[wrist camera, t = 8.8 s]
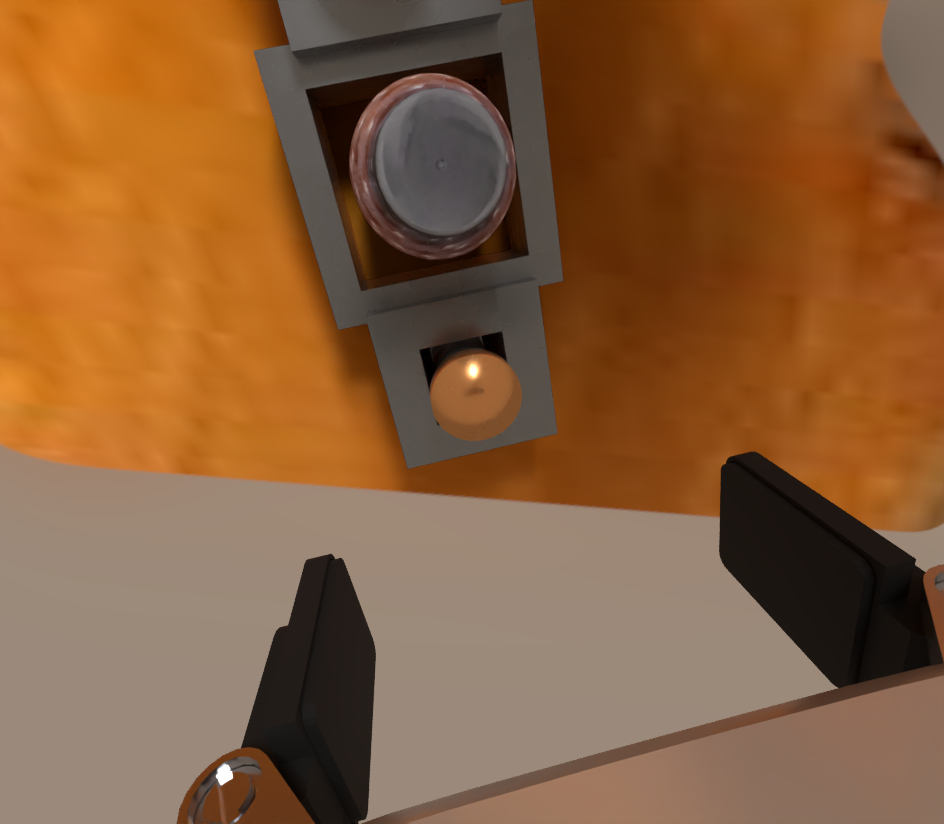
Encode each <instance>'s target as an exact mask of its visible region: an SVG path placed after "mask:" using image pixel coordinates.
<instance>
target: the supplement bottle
mask: <svg viewBox="0 0 944 824" xmlns="http://www.w3.org/2000/svg"><path fill="white" fill-rule="evenodd" d="M349 172H350V179H351V184H352V188H353V192H354V195H355V198H356V201H357V203H358V206H359V208H360V210H361V212H362V213H363V215H364V217H365V219H366V220H367V222H368V223H369V225H370V226H371V227H372V228H373V230H374V231H375V232H376V233H377V234H378V235H379V236H380V237H381V238H382V239H384V240H385V241H386V242H387V243H389V244H390V245H391V246H393V247H394V248H396V249H398V250H400V251H402V252H404V253H406V254H408V255H412V256H415V257H418V258H423V259H427V260H444V259H449V258H454V257H457V256H461V255H464V254H466V253H468V252H470V251H472V250H474V249H475V248H477V247H479V246H480V245H481V244H483V243H484V242H485V241H486V240H487V239H488V238H489V237H490V236H491V235H492V234H493V233H494V232H495V230H496V229H497V228H498V227H499V225H500V224H501V222H502V220H503V218H504V217H505V215H506V213H507V210H508V208H509V206H510V203H511V200H512V197H513V193H514V189H515V181H516V156H515V152H514V146H513V142H512V139H511V136H510V133H509V131H508V128H507V126H506V124H505V122H504V120H503V118H502V116H501V114H500V113H499V111H498V110H497V109H496V107H495V106H494V105H493V104H492V103H491V101H490V100H489V99H488V98H487V97H486V96H485V95H484V94H483V93H482V92H480V91H479V90H477V89H476V88H475V87H473V86H472V85H470V84H468V83H466V82H465V81H462V80H460V79H458V78H456V77H452V76H450V75H444V74H437V73H421V74H416V75H412V76H408V77H404V78H402V79H400V80H398V81H396V82H394V83H392V84H391V85H389V86H388V87H386V88H385V89H383V90H382V91H381V92H380V93H379V94H377V95H376V96H375V98H374V99H373V100H372V101H371V102H370V103H369V105H368V106H367V107H366V109H365V110H364V112H363V113H362V115H361V117H360V119H359V121H358V123H357V126H356V128H355V131H354V134H353V138H352V142H351V147H350V155H349Z"/></svg>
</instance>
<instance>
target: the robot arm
mask: <svg viewBox="0 0 944 824" xmlns="http://www.w3.org/2000/svg"><path fill="white" fill-rule="evenodd" d="M719 543H720V544H719V552H720V558H721V560H722V563H723V564H724V566H725V567H726V568H727V569H728V571H729V572H730V573H731V574H732V575H733V576H734V577H735V578H736V579H737V581H739V583H740V584H741V585H742V586H743V587H744V588H745V589H746V590H747V591H748V592H749V593H750V595H751V596H752V597H753V598H754V599H755V600H756V601H757V602H758V603H759V604H760V606H761V607H762V608H763V609H764V610H765V611H766V612H767V613H768V614H769V615H770V616H771V617H772V618H773V620H774V621H775V622H776V623H777V624H778V625H779V626H780V627H781V628H782V629H783V631H784V632H785V633H786V634H787V635H788V636H789V637H790V638H791V639H792V640H793V641H794V643H795V644H796V645H797V646H798V647H799V648H800V649H801V650H802V651H803V652H804V653H805V655H806V656H807V657H808V658H809V659H810V660H811V661H812V662H813V663H814V664H815V665H816V666H817V668H818V669H819V670H820V671H821V672H822V673H823V674H824V675H825V676H826V677H827V678H828V679H829V680H830V682H831V683H832V684H834V685H835V686H836V687H838V689H834V690H831V691H827V692H823V693H819V694H816V695H812V696H808V697H805V698H801V699H797V700H793V701H789V702H786V703H782V704H779V705H774V706H771V707H767V708H763V709H759V710H756V711H752V712H748V713H745V714H741V715H737V716H734V717H730V718H726V719H723V720H719V721H715V722H712V723H708V724H704V725H701V726H697V727H693V728H689V729H686V730H682V731H678V732H675V733H671V734H667V735H664V736H660V737H657V738H653V739H649V740H646V741H642V742H638V743H635V744H631V745H627V746H624V747H620V748H616V749H613V750H609V751H605V752H602V753H598V754H595V755H591V756H587V757H584V758H580V759H577V760H573V761H569V762H566V763H563V764H559V765H556V766H552V767H548V768H545V769H541V770H538V771H534V772H530V773H527V774H523V775H520V776H516V777H512V778H509V779H505V780H502V781H498V782H495V783H491V784H488V785H484V786H480V787H477V788H473V789H470V790H467V791H463V792H460V793H456V794H453V795H450V796H446V797H443V798H440V799H437V800H433V801H430V802H426V803H423V804H420V805H417V806H413V807H410V808H406V809H403V810H400V811H396V812H393V813H390V814H387V815H384V816H382V817H379V818H376V819H373V820H370V821H368V822H365V823H362V824H944V565H938V566H935V567H932V568H930V569H928V570H927V571H926V572H924V571H923V570H921V569H920V568H918V567H917V566H915V562H916V559H915V558H914V557H912V556H910V555H909V554H908V553H906V552H905V551H903V550H902V549H900V548H899V547H897V546H896V545H894V544H893V543H891V542H890V541H888V540H887V539H885V538H884V537H882V536H881V535H879V534H878V533H876V532H875V531H873V530H872V529H870V528H869V527H867V526H866V525H864V524H863V523H861V522H860V521H858V520H857V519H856V518H854V517H853V516H851V515H850V514H848V513H847V512H845V511H844V510H842V509H841V508H839V507H838V506H836V505H835V504H833V503H832V502H830V501H829V500H827V499H826V498H824V497H823V496H821V495H820V494H818V493H817V492H815V491H814V490H812V489H811V488H809V487H808V486H806V485H805V484H803V483H802V482H800V481H799V480H797V479H796V478H794V477H793V476H791V475H790V474H788V473H787V472H786V471H784V470H783V469H781V468H780V467H778V466H777V465H775V464H774V463H772V462H771V461H769V460H768V459H766V458H765V457H763V456H762V455H760V454H759V453H757V452H748V453H744V454H739V455H735V456H731V457H729V458H728V459H727V461H726V464H724V465H723V466H722V468H721V493H720V542H719ZM375 661H376V652H375V646H374V641H373V638H372V636H371V633H370V630H369V627H368V625H367V622H366V619H365V617H364V614H363V611H362V608H361V606H360V603H359V600H358V598H357V595H356V592H355V590H354V587H353V584H352V582H351V579H350V576H349V574H348V571H347V568H346V566H345V563H344V561H343V559H342V558H339V559H335V558H334V556H333V555H332V554H328V555H324V556H320V557H316V558H312V559H308V560H306V562H305V565H304V569H303V572H302V576H301V580H300V583H299V587H298V591H297V594H296V598H295V602H294V606H293V610H292V613H291V617H290V621H289V624H288V626H284V627H280V628H279V629H278V630H277V631H276V633H275V635H274V638H273V641H272V645H271V648H270V651H269V655H268V658H267V662H266V665H265V668H264V672H263V675H262V679H261V682H260V685H259V689H258V692H257V696H256V699H255V702H254V706H253V710H252V713H251V716H250V719H249V723H248V726H247V730H246V733H245V736H244V740H243V743H242V747H241V749H236V750H234V751H231V752H229V753H227V754H225V755H223V756H221V757H220V758H218V759H217V760H216V761H214V762H213V763H212V764H210V765H209V766H208V767H207V768H206V769H205V770H204V771H203V772H202V773H201V774H200V775H199V776H198V777H197V778H196V780H195V781H194V783H193V784H192V785H191V787H190V788H189V790H188V791H187V793H186V795H185V797H184V799H183V802H182V804H181V806H180V808H179V813H178V818H177V824H358V821H361V820H365V819H366V817H367V813H368V798H369V777H370V758H371V740H372V720H373V701H374V680H375Z"/></svg>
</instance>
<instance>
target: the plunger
mask: <svg viewBox="0 0 944 824" xmlns="http://www.w3.org/2000/svg"><path fill="white" fill-rule="evenodd" d="M433 364H434V368H435V373H434V375H433V378H432V381H431V385H430V400H431V406H432V411H433V414H434V416H435V418H436V420H437V422H438V423H439V425H440V426H441V427H442V428H443V429H444V430H445V431H446V432H447V433H449V434H451V435H452V436H454V437H456V438H459V439H462V440H467V441H481V440H486V439H489V438H492V437H494V436H496V435H498V434H500V433H502V432H503V431H504V430H506V429H507V428H508V427H509V426H510V425H511V423H512V422H513V421H514V419H515V418H516V416H517V414H518V412H519V410H520V407H521V402H522V389H521V385H520V382H519V379H518V377H517V375H516V374H515V372H514V371H513V369H512V368H511V367H510V365H509V364H508V363H507V362H506V361H505V360H504V359H503V358H502V357H500V356H499V355H497V354H495V353H493V352H491V351H488V350H486V348H485V347H484V345H483V344H482V342H481V341H480V340H479V339H478V338H477V337H474V338H469V339H465V340H460V341H456V342H451V343H446V344H442V345H437V346H436V347H435V350H434V353H433Z"/></svg>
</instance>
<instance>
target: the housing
mask: <svg viewBox="0 0 944 824" xmlns="http://www.w3.org/2000/svg"><path fill="white" fill-rule="evenodd" d="M277 1H278V4H279V8H280V11H281V15H282V19H283V22H284V26H285V29H286V33H287V37H288V40H289V44H288V45H283V46H278V47H272V48H267V49H261V50H256V51H254V54H255V58H256V61H257V64H258V68H259V71H260V74H261V77H262V81H263V84H264V87H265V91H266V94H267V97H268V100H269V104H270V107H271V110H272V114H273V117H274V120H275V123H276V127H277V130H278V133H279V137H280V140H281V143H282V146H283V150H284V153H285V156H286V160H287V163H288V166H289V169H290V173H291V176H292V179H293V183H294V186H295V189H296V193H297V196H298V199H299V202H300V206H301V209H302V212H303V216H304V219H305V222H306V225H307V229H308V232H309V235H310V239H311V242H312V245H313V248H314V252H315V255H316V258H317V262H318V265H319V268H320V271H321V275H322V278H323V281H324V285H325V288H326V291H327V294H328V298H329V301H330V304H331V308H332V311H333V314H334V318H335V321H336V324H337V327H338V330H340V329H345V328H349V327H354V326H359V325H363V324H368V328H369V331H370V335H371V339H372V342H373V346H374V349H375V353H376V357H377V360H378V364H379V367H380V371H381V375H382V378H383V382H384V385H385V389H386V393H387V396H388V400H389V403H390V407H391V411H392V414H393V418H394V421H395V425H396V429H397V432H398V436H399V439H400V443H401V447H402V450H403V454H404V457H405V461H406V464H407V468H408V469H409V468H413V467H417V466H422V465H426V464H430V463H435V462H439V461H443V460H447V459H452V458H456V457H460V456H464V455H469V454H473V453H477V452H481V451H486V450H490V449H494V448H498V447H503V446H507V445H511V444H515V443H520V442H524V441H528V440H532V439H537V438H541V437H545V436H549V435H554V434H558V433H557V425H556V418H555V410H554V403H553V395H552V387H551V380H550V372H549V364H548V357H547V349H546V341H545V334H544V326H543V318H542V311H541V303H540V295H539V288H538V286H542V285H547V284H552V283H556V282H561V281H563V273H562V263H561V254H560V245H559V236H558V227H557V218H556V209H555V200H554V191H553V181H552V172H551V163H550V154H549V145H548V136H547V127H546V118H545V109H544V99H543V90H542V81H541V72H540V63H539V54H538V45H537V36H536V27H535V17H534V8H533V0H527V1H522V2H517V3H511V4H506V5H502V4H501V0H277ZM421 73H437V74H444V75H450V76H452V77H456V78H458V79H460V80H462V81H468V80H473V79H478V78H484V77H486V84H487V91H488V97H489V100H490V101H491V103H492V104H493V105H494V106H495V107H496V109H497V110H498V111H499V113H500V114H501V116H502V118H503V120H504V122H505V124H506V126H507V128H508V131H509V133H510V136H511V139H512V142H513V146H514V152H515V156H516V181H515V189H514V193H513V197H512V200H511V203H510V206H509V208H508V210H507V213H506V219H507V225H508V232H509V239H510V246H511V250H506V251H501V252H497V253H492V254H487V255H483V256H478V257H473V258H468V259H464V260H459V261H454V262H450V263H445V264H440V265H435V266H431V267H426V268H421V269H417V270H412V271H407V272H403V273H398V274H393V275H388V276H384V277H379V278H374V279H370V280H366V278H365V274H364V270H363V266H362V263H361V259H360V255H359V252H358V248H357V244H356V240H355V237H354V233H353V229H352V226H351V222H350V218H349V214H348V211H347V207H346V203H345V200H344V196H343V192H342V188H341V185H340V181H339V177H338V174H337V170H336V166H335V162H334V159H333V155H332V151H331V148H330V144H329V140H328V136H327V133H326V129H325V125H324V122H323V118H322V114H321V110H320V109H322V108H327V107H333V106H338V105H343V104H348V103H353V102H359V101H364V100H369V99H374V98H375V96H376V95H377V94H379V93H380V92H381V91H382V90H383V89H385V88H386V87H388V86H389V85H391V84H392V83H394V82H396V81H398V80H400V79H402V78H404V77H408V76H412V75H416V74H421ZM487 334H489V337H490V343H491V348H492V352H493V353H495V354H497V355H499V356H500V357H502V358H503V359H504V360H505V361H506V362H507V363H508V364H509V365H510V367H511V368H512V369H513V371H514V372H515V374H516V375H517V377H518V379H519V382H520V385H521V389H522V402H521V407H520V410H519V412H518V414H517V416H516V418H515V419H514V421H513V422H512V423H511V425H510V426H509V427H508V428H507V429H506V430H504V431H503V432H502V433H500V434H498V435H496V436H494V437H492V438H489V439H486V440H481V441H467V440H462V439H459V438H456V437H454V436H452V435H451V434H449V433H447V432H446V431H445V430H444V429H443V428H442V427H441V426H440V425H439V423H438V422H437V420H436V418H435V416H434V414H433V411H432V406H431V400H430V384H429V380H428V376H427V372H426V367H425V363H424V359H423V355H422V351H421V349H424V348H428V347H430V351H431V355H432V360H433V353H434V350H435V347H436V346H437V345H442V344H446V343H451V342H456V341H460V340H465V339H469V338H474V337H477V338H478V339H479V340H480V341H481V342H482V344H483V341H482V336H483V335H487Z"/></svg>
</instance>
